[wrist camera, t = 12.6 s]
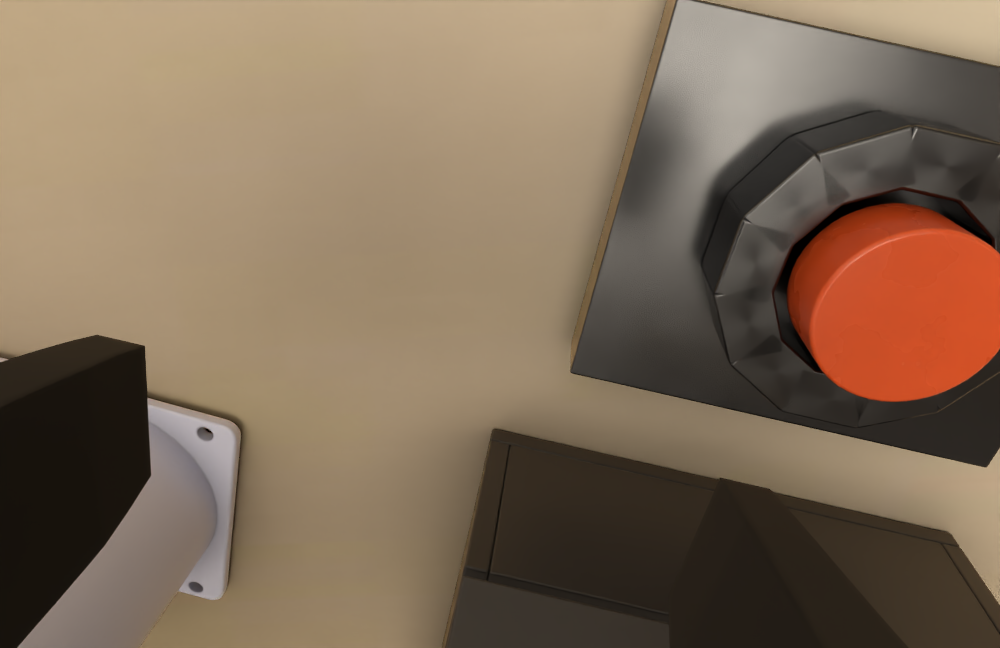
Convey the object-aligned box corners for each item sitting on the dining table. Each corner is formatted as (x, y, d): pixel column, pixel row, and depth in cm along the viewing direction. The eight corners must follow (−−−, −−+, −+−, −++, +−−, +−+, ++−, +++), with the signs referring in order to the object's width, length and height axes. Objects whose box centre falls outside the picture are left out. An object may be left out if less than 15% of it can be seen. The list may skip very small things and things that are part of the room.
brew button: (919, 376, 15) (958, 421, 13) (759, 340, 15) (780, 380, 13) (1005, 224, 13) (1060, 254, 12) (827, 184, 13) (858, 209, 12)
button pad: (954, 430, 19) (1028, 516, 16) (570, 343, 19) (568, 411, 16) (1156, 102, 15) (1309, 131, 12) (667, -6, 15) (689, -5, 12)
